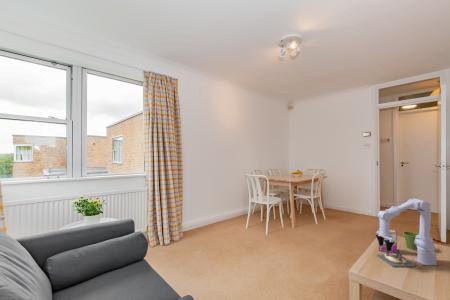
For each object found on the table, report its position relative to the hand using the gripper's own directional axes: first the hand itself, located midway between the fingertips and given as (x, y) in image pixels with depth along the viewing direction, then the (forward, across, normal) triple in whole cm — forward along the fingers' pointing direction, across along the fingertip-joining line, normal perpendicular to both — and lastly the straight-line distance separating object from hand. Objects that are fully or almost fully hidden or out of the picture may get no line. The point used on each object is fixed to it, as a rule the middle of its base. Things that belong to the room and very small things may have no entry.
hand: (384, 248), depth 147 cm
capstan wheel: (+9, -2, +8) cm, 12 cm away
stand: (+10, -2, +8) cm, 13 cm away
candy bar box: (+10, -17, +13) cm, 23 cm away
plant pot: (+10, -23, +36) cm, 44 cm away
